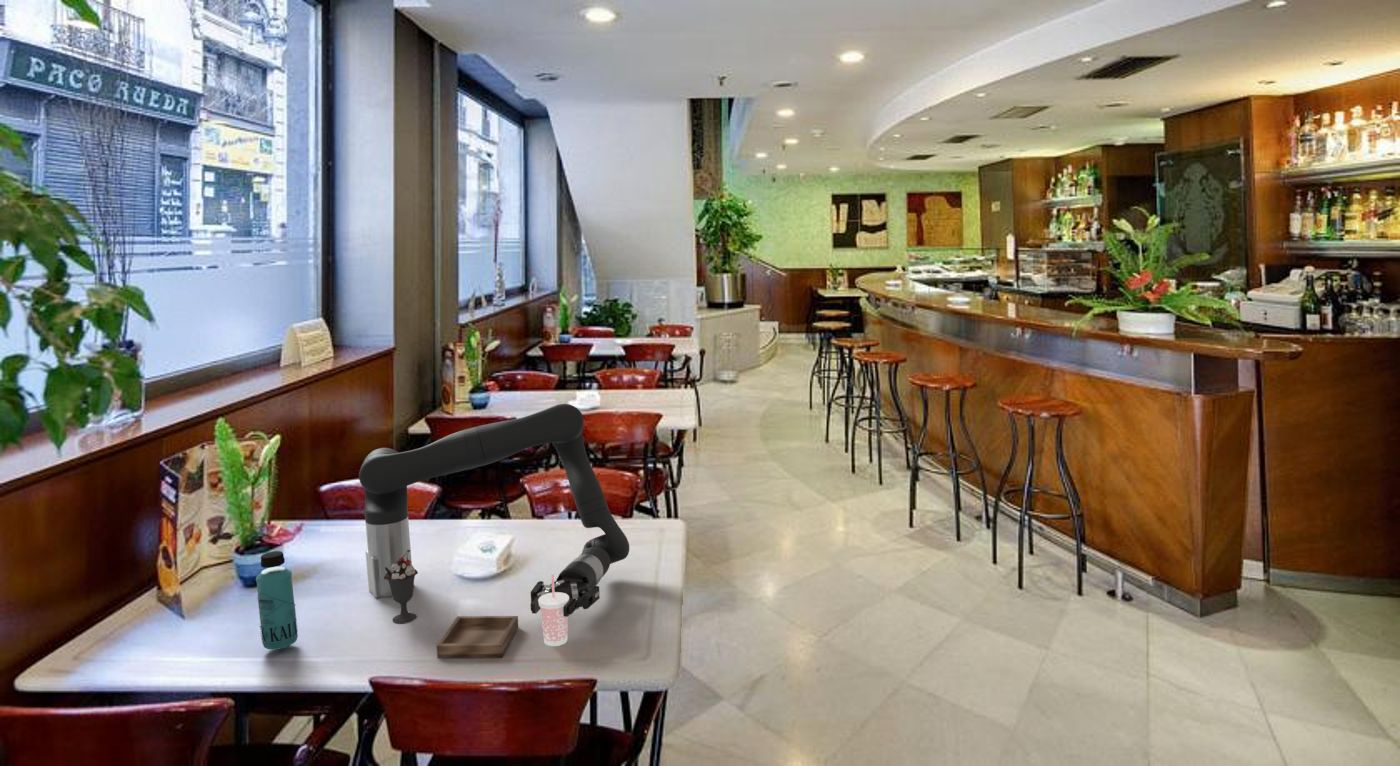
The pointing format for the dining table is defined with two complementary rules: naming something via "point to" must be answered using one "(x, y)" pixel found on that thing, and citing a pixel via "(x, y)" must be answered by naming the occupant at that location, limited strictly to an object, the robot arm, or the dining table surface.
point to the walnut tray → (478, 637)
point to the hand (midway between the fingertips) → (549, 610)
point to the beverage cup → (554, 617)
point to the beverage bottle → (276, 602)
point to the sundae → (402, 587)
